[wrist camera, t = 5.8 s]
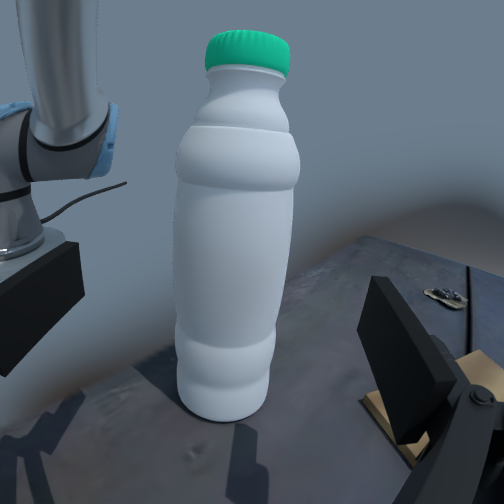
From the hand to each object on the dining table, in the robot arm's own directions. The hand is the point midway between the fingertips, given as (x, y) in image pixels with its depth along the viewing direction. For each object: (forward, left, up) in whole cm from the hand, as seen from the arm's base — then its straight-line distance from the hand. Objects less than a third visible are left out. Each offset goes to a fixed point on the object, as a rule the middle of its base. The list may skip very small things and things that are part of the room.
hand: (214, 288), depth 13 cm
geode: (-15, +39, -13) cm, 44 cm away
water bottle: (-6, +2, -13) cm, 14 cm away
